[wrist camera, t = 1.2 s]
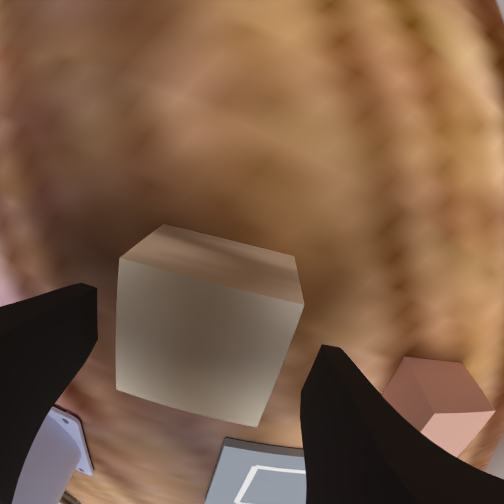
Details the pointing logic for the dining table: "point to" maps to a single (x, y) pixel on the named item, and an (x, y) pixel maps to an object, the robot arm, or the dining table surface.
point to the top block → (439, 401)
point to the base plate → (258, 475)
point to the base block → (204, 323)
